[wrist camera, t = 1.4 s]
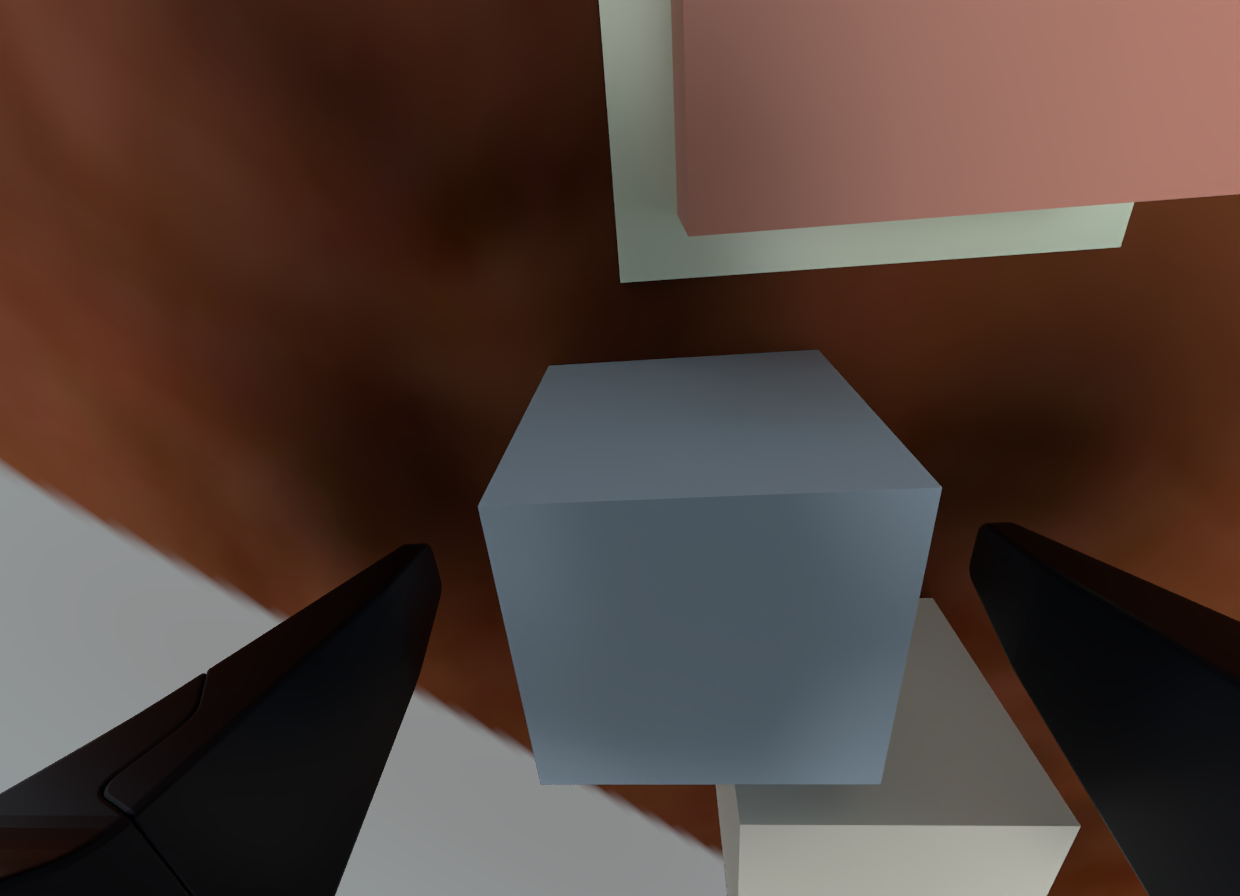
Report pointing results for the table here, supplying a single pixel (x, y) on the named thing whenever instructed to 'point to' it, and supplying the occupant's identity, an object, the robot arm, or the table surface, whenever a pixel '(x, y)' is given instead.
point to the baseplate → (666, 252)
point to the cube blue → (708, 571)
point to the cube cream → (911, 801)
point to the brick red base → (947, 107)
